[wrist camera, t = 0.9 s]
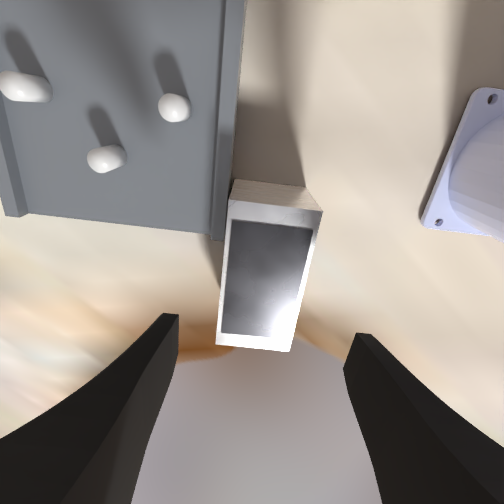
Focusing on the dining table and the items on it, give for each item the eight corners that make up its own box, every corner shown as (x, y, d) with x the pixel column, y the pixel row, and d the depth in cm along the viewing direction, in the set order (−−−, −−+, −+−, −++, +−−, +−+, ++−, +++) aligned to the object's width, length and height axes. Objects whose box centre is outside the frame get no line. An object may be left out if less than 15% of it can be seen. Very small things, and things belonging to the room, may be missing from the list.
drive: (305, 187, 18) (323, 211, 13) (281, 302, 22) (289, 352, 17) (234, 178, 18) (228, 200, 13) (223, 296, 22) (215, 345, 17)
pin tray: (271, -272, 10) (277, -406, 8) (226, 230, 19) (221, 249, 16) (-100, -349, 10) (-234, -524, 7) (27, 207, 19) (-12, 222, 16)
